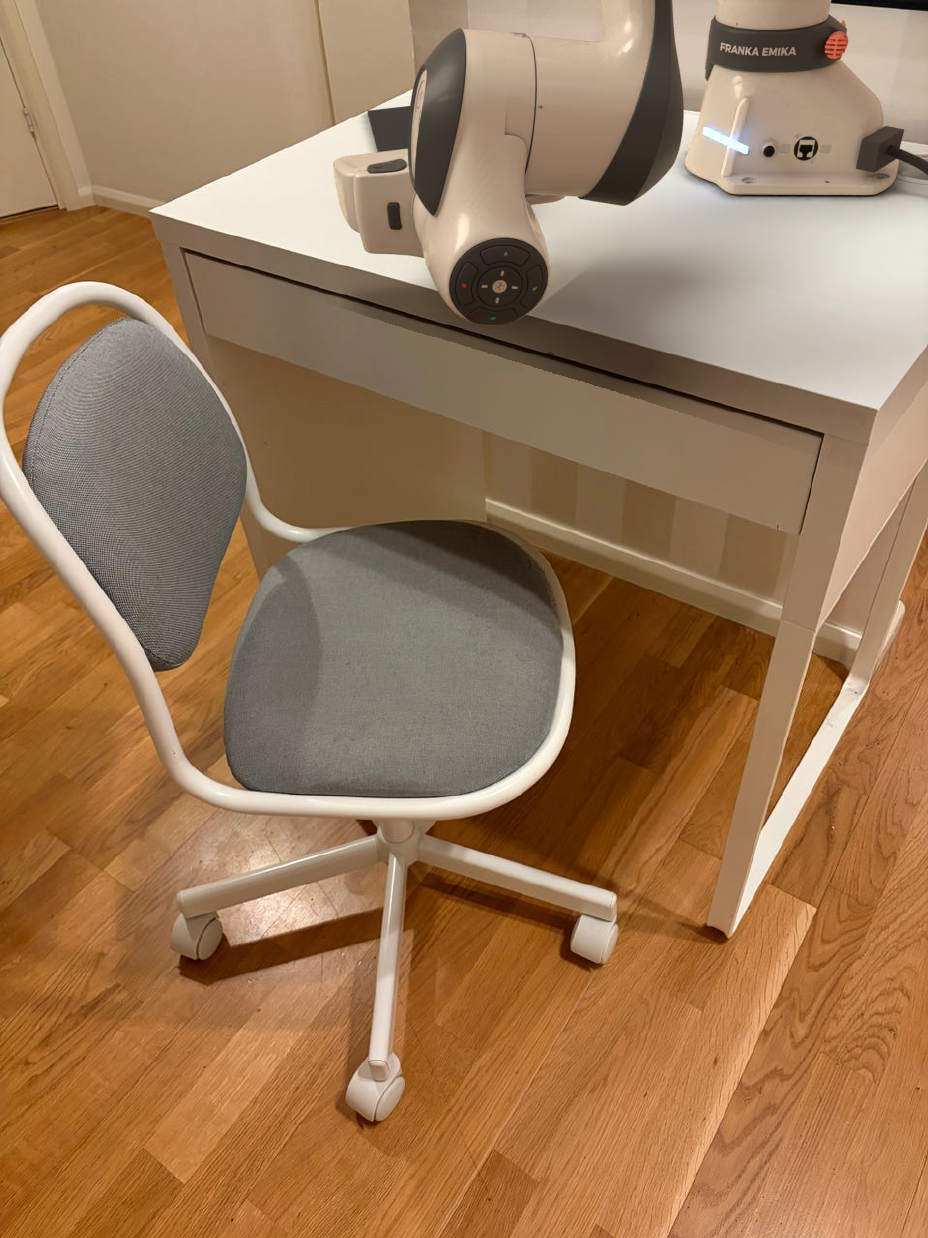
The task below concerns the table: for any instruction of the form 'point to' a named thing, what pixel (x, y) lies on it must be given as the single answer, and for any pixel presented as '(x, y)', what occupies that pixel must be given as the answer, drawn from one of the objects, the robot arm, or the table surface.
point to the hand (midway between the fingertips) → (441, 146)
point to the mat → (390, 128)
